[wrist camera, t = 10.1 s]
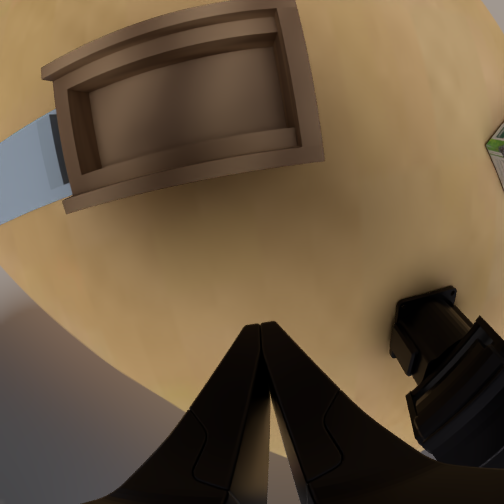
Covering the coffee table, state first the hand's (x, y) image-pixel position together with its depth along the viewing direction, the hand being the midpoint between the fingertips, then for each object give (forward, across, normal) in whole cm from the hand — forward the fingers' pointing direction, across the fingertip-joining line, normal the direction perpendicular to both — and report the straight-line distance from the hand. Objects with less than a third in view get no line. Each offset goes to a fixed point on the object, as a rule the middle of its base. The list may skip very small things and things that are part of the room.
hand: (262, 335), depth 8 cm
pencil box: (+12, +3, -8) cm, 15 cm away
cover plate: (+12, +16, -7) cm, 22 cm away
